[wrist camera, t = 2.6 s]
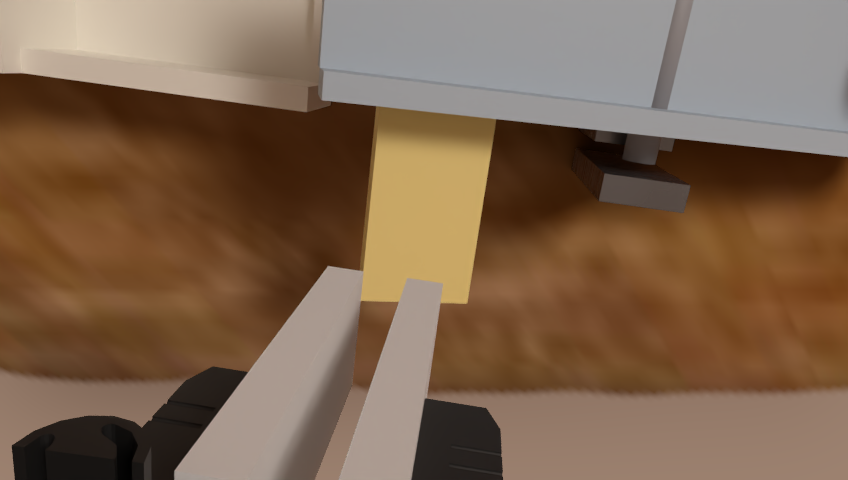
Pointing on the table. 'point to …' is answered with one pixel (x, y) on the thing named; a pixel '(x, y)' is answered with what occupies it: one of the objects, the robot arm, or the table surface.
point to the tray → (172, 46)
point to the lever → (561, 98)
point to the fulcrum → (628, 176)
